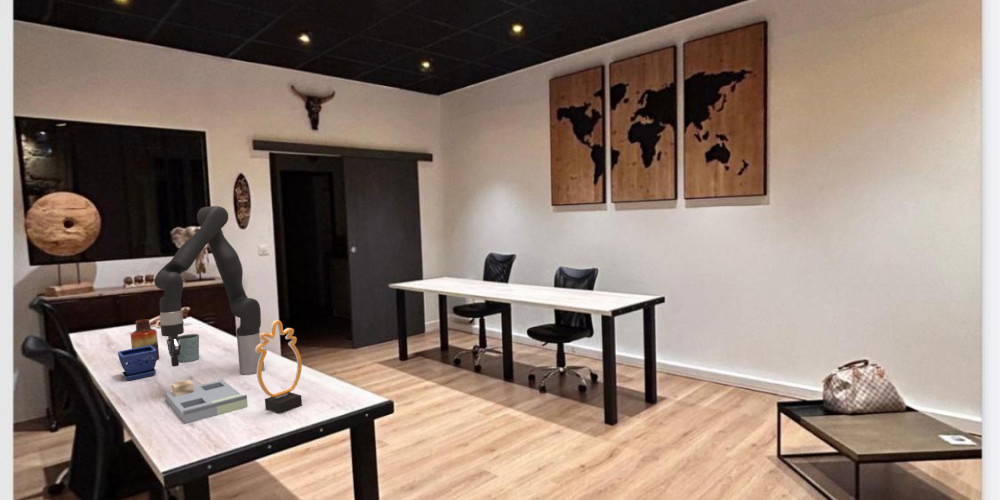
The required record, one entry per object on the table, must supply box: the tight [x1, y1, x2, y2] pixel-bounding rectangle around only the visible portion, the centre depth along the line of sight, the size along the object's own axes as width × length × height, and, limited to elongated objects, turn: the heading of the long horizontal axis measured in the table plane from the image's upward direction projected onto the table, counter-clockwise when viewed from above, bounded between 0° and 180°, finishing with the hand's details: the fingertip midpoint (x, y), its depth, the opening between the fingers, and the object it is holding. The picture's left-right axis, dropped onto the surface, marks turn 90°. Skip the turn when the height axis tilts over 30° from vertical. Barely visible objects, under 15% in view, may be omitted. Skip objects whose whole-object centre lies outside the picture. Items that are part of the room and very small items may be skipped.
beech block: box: [171, 379, 194, 396], centre depth 199 cm, size 6×6×4 cm
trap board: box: [165, 379, 249, 424], centre depth 194 cm, size 20×32×4 cm, turn 42°
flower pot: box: [117, 345, 157, 381], centre depth 232 cm, size 13×13×12 cm
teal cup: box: [178, 333, 200, 364], centre depth 256 cm, size 10×10×12 cm
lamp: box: [255, 319, 303, 415], centre depth 186 cm, size 17×9×32 cm, turn 145°
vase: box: [130, 318, 160, 362], centre depth 258 cm, size 11×11×20 cm
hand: (175, 365), depth 205 cm, fingers closed
